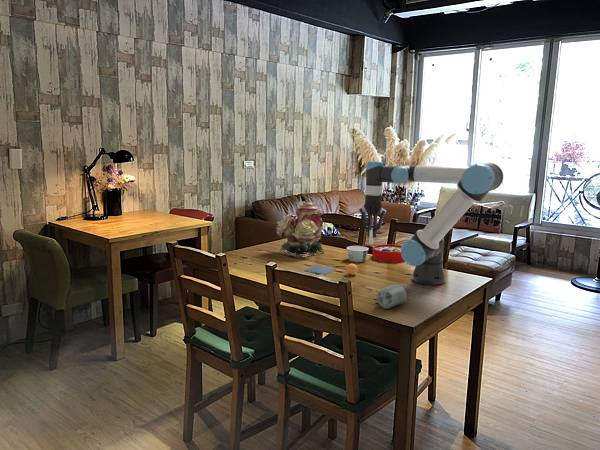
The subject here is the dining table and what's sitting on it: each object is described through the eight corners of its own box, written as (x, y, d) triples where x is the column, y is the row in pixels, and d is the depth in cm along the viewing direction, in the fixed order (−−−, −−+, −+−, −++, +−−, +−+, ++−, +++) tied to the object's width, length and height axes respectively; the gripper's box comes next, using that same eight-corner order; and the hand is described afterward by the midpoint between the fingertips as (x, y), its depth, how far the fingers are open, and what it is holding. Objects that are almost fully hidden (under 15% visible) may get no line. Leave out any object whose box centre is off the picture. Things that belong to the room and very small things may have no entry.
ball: (359, 274, 248) (359, 263, 248) (355, 276, 244) (355, 265, 243) (348, 272, 251) (349, 261, 250) (344, 275, 246) (344, 264, 245)
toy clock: (407, 244, 291) (411, 252, 271) (406, 254, 292) (410, 263, 272) (372, 243, 293) (373, 251, 273) (371, 253, 294) (372, 262, 274)
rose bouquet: (271, 250, 298) (271, 199, 293) (316, 246, 309) (317, 197, 304) (287, 260, 275) (287, 205, 269) (335, 256, 286) (336, 203, 281)
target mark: (336, 269, 258) (336, 268, 258) (326, 274, 247) (326, 274, 247) (314, 266, 263) (314, 265, 263) (304, 271, 253) (304, 270, 253)
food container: (341, 259, 279) (341, 247, 278) (357, 256, 286) (357, 244, 285) (356, 263, 269) (357, 251, 268) (372, 260, 277) (373, 248, 275)
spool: (390, 305, 193) (387, 280, 196) (372, 310, 200) (369, 285, 203) (414, 307, 201) (410, 283, 204) (396, 312, 208) (393, 288, 211)
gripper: (389, 194, 236) (387, 244, 241) (363, 192, 242) (361, 241, 246) (384, 196, 230) (382, 247, 234) (357, 194, 236) (355, 244, 240)
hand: (371, 244), depth 240 cm, fingers closed
